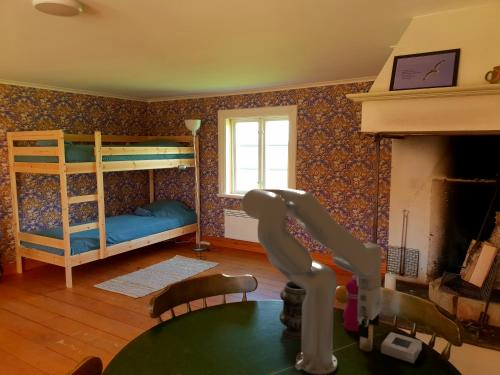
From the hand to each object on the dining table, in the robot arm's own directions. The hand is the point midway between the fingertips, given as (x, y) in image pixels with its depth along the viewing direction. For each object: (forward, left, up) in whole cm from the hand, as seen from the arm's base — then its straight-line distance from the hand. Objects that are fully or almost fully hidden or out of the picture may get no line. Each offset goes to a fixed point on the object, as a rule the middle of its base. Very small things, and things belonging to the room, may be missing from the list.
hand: (368, 330), depth 124 cm
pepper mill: (+10, +9, -6) cm, 15 cm away
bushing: (-1, 0, -6) cm, 6 cm away
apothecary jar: (-6, +24, -6) cm, 26 cm away
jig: (+4, -10, -6) cm, 12 cm away
